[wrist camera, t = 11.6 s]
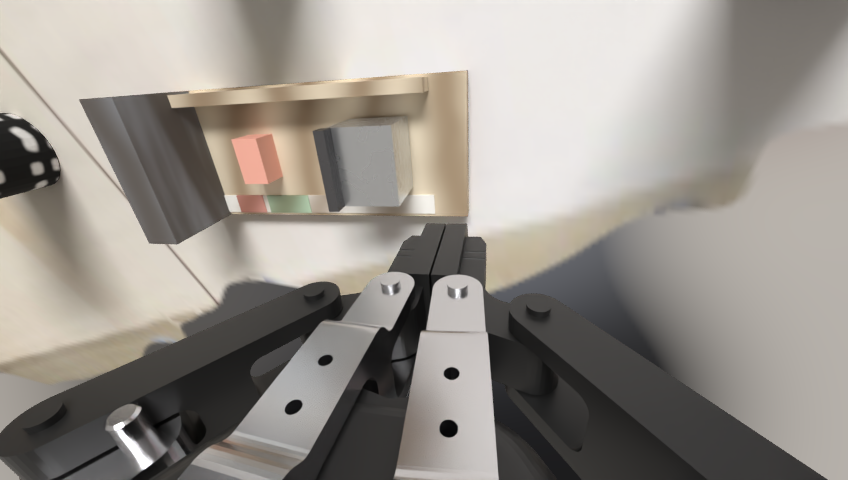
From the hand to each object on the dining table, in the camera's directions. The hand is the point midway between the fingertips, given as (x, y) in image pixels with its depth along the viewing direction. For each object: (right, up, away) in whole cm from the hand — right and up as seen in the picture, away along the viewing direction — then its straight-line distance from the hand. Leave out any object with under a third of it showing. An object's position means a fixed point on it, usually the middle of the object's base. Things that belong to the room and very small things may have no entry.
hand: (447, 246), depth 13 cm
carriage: (-5, +8, +17) cm, 19 cm away
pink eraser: (-16, +8, +19) cm, 26 cm away
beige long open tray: (-11, +9, +20) cm, 24 cm away
